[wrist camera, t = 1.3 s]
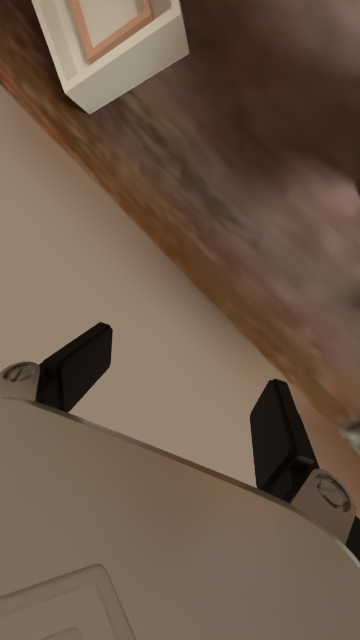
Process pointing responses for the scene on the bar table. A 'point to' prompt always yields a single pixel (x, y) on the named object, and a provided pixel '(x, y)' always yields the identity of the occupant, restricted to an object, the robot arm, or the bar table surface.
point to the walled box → (110, 44)
